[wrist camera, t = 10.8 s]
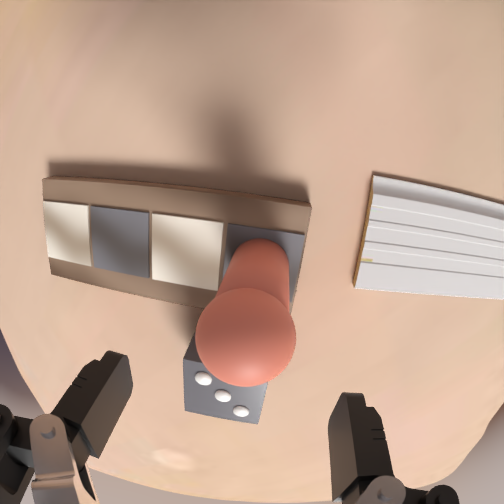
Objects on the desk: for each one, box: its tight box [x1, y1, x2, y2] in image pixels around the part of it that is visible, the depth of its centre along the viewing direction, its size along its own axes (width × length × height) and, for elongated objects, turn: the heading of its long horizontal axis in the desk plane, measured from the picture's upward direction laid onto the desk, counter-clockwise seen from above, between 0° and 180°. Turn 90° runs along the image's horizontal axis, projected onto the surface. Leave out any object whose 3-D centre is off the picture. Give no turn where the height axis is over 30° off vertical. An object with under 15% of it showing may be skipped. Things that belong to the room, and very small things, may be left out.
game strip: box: [42, 176, 312, 315], centre depth 23 cm, size 9×22×2 cm, turn 83°
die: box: [183, 331, 268, 424], centre depth 24 cm, size 6×6×6 cm
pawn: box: [195, 238, 296, 387], centre depth 17 cm, size 5×5×11 cm
